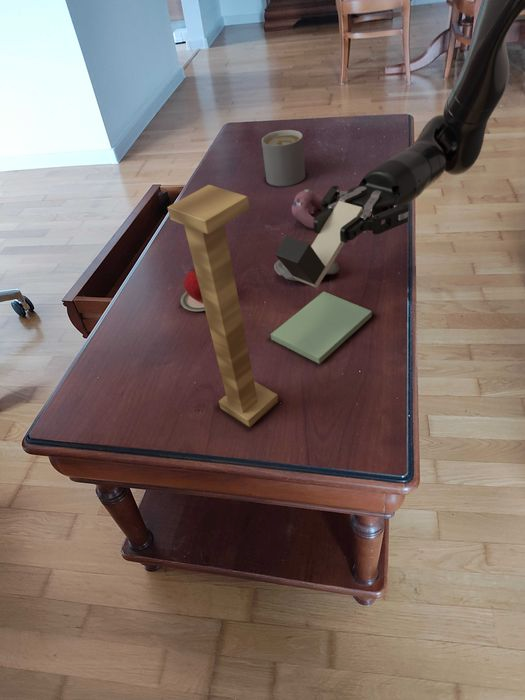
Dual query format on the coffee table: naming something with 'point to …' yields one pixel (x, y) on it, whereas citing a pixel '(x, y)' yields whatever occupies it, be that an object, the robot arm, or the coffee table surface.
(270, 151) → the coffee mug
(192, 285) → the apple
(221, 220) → the stand
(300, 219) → the video game controller
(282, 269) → the seashell
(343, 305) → the pale green rectangular panel
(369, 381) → the coffee table surface
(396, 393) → the coffee table surface
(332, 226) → the wooden mallet
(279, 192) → the coffee table surface
